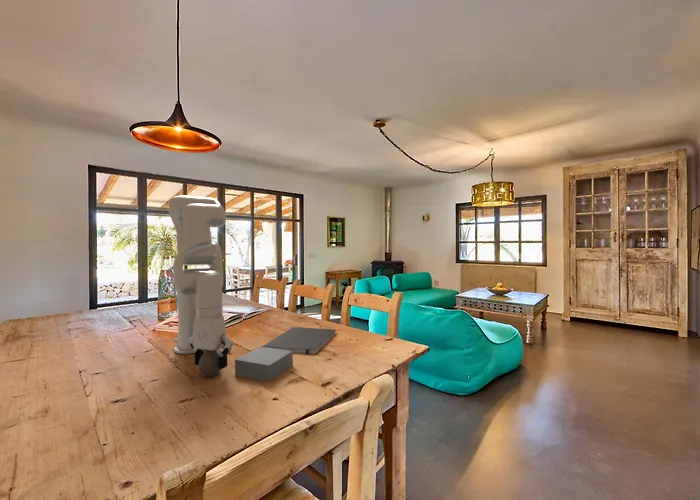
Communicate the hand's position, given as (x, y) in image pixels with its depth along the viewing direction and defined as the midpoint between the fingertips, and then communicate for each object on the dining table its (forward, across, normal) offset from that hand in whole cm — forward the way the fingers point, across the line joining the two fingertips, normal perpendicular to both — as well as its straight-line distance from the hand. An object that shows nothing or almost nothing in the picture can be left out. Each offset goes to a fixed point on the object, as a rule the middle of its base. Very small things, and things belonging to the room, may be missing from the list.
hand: (210, 365), depth 100 cm
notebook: (+4, +10, +40) cm, 41 cm away
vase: (+3, 0, 0) cm, 3 cm away
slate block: (+3, +14, +9) cm, 17 cm away
